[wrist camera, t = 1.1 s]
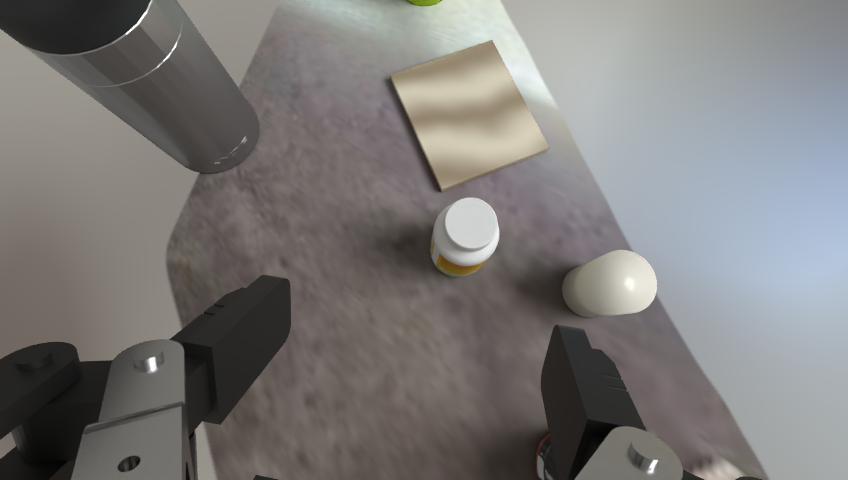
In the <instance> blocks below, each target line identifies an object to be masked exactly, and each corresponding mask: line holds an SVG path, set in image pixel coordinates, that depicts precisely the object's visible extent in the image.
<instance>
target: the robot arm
mask: <svg viewBox="0 0 848 480" xmlns="http://www.w3.org/2000/svg"><path fill="white" fill-rule="evenodd" d="M0 29H1V30H3V31H4V32H5V33H7V34H8V35H9V36H11V37H12V38H14V39H15V40H16V41H18V42H19V43H20V44H21V45H23V46H24V47H25V48H27V49H28V50H29V51H31V52H32V53H33V54H35V55H36V56H37V57H39V58H40V59H41V60H43V61H44V62H45V63H47V64H48V65H49V66H51V67H52V68H53V69H55V70H56V71H57V72H59V73H60V74H62V75H63V76H65V77H66V78H67V79H68V80H70V81H71V82H72V83H74V84H75V85H76V86H78V87H79V88H80V89H82V90H83V91H85V92H86V93H87V94H89V95H90V96H91V97H92V98H94V99H95V100H96V101H98V102H99V103H100V104H102V105H103V106H104V107H106V108H107V109H108V110H110V111H111V112H112V113H114V114H115V115H116V116H118V117H119V118H120V119H122V120H123V121H124V122H126V123H127V124H128V125H130V126H131V127H132V128H134V129H135V130H136V131H138V132H139V133H140V134H142V135H143V136H144V137H146V138H147V139H148V140H150V141H151V142H152V143H154V144H155V145H156V146H157V147H159V148H160V149H162V150H163V151H164V152H165V153H167V154H168V155H169V156H171V157H172V158H174V159H175V160H176V161H178V162H179V163H180V164H182V165H183V166H185V167H186V168H188V169H190V170H193V171H196V172H201V173H216V172H221V171H225V170H227V169H230V168H232V167H234V166H236V165H237V164H239V163H240V162H242V161H243V160H244V159H245V158H246V157H247V156H248V155H249V154H250V152H251V151H252V149H253V148H254V146H255V144H256V141H257V138H258V133H259V123H258V119H257V115H256V114H255V112H254V110H253V108H252V107H251V105H250V104H249V103H248V101H247V100H246V98H245V97H244V95H243V94H242V93H241V91H240V90H239V88H238V87H237V85H236V84H235V82H234V81H233V79H232V78H231V77H230V75H229V74H228V72H227V71H226V70H225V68H224V67H223V65H222V64H221V62H220V61H219V60H218V58H217V57H216V55H215V54H214V52H213V51H212V50H211V48H210V47H209V45H208V44H207V43H206V41H205V40H204V38H203V37H202V35H201V34H200V33H199V31H198V30H197V28H196V27H195V26H194V24H193V23H192V21H191V20H190V18H189V17H188V15H187V14H186V13H185V11H184V10H183V9H182V7H181V6H180V4H179V3H178V1H177V0H0ZM290 327H291V298H290V282H289V280H288V279H285V278H279V277H274V276H268V275H262V276H260V277H259V278H258V279H256V280H255V281H254V282H253V283H252V284H250V285H249V286H248V287H247V288H240V289H238V290H236V291H233V292H231V293H229V294H226V295H225V296H223V297H222V298H221V299H220V300H218V301H217V302H216V303H215V304H214V306H211V307H210V308H208V309H207V310H206V311H205V312H204V314H201V315H200V316H198V317H197V318H196V319H195V320H193V321H192V322H191V323H190V324H188V325H187V326H186V327H185V328H183V329H182V330H181V331H180V332H178V333H177V334H176V335H175V336H173V337H172V338H171V339H170V340H163V339H162V340H152V341H146V342H143V343H140V344H137V345H134V346H132V347H130V348H127V349H126V350H124V351H122V352H121V353H120V354H119V355H117V356H116V358H114V360H112V361H111V360H110V361H86V362H80V361H79V357H78V353H77V349H76V348H75V347H74V346H73V345H72V344H69V343H64V342H48V343H42V344H37V345H32V346H29V347H26V348H23V349H20V350H18V351H15V352H13V353H11V354H9V355H7V356H5V357H4V358H2V359H0V439H2V438H3V437H4V436H6V435H7V434H8V433H9V432H11V433H12V435H13V438H14V441H15V443H16V447H15V448H13V449H12V450H11V451H10V452H9V453H7V454H6V455H5V456H4V457H2V458H1V459H0V480H198V476H197V451H196V434H195V429H196V428H197V427H198V425H199V424H200V423H201V422H202V421H205V422H209V423H214V424H219V425H220V424H221V423H222V422H223V421H224V419H225V418H226V417H227V415H228V414H229V413H230V412H231V410H232V409H233V408H234V407H235V405H236V404H237V403H238V401H239V400H240V399H241V398H242V396H243V395H244V394H245V393H246V391H247V390H248V389H249V387H250V386H251V385H252V384H253V382H254V381H255V380H256V379H257V377H258V376H259V375H260V373H261V372H262V371H263V370H264V368H265V367H266V366H267V365H268V363H269V362H270V361H271V359H272V358H273V357H274V356H275V354H276V353H277V352H278V351H279V349H280V348H281V347H282V345H283V344H284V343H285V341H286V339H287V337H288V335H289V331H290ZM541 392H542V397H543V402H544V408H545V413H546V418H547V423H548V429H549V434H550V439H551V445H552V450H553V455H554V460H555V466H556V471H557V476H558V480H704V479H702V478H700V477H697V476H695V475H693V474H691V473H689V472H687V471H685V470H683V468H682V465H681V462H680V460H679V459H678V457H677V456H676V454H675V453H674V452H673V451H672V449H671V448H670V447H669V446H668V445H666V444H665V443H664V442H663V441H662V440H660V439H659V438H657V437H656V436H654V435H652V434H650V433H648V432H647V431H646V429H645V427H644V425H643V422H642V420H641V418H640V416H639V414H638V412H637V410H636V408H635V406H634V403H633V401H632V399H631V397H630V395H629V393H628V392H626V387H625V384H624V382H623V380H621V376H620V374H619V372H618V370H617V368H616V365H615V363H614V362H613V361H612V360H611V359H610V358H609V357H608V356H607V355H606V354H605V353H604V352H603V351H602V350H598V349H592V348H591V345H590V343H589V341H588V338H587V336H586V333H585V331H584V330H583V329H579V328H573V327H567V326H561V325H555V327H554V329H553V332H552V335H551V339H550V343H549V346H548V350H547V354H546V357H545V361H544V365H543V369H542V375H541ZM253 480H277V479H273V478H268V477H263V476H259V475H256V476H255V478H254V479H253ZM736 480H762V479H758V478H754V477H739V478H737V479H736Z"/></svg>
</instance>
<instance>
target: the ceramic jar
mask: <svg viewBox="0 0 848 480" xmlns="http://www.w3.org/2000/svg"><path fill="white" fill-rule="evenodd" d="M656 291H657V281H656V276H655V273H654V271H653V269H652V267H651V266H650V265H649V263H648V262H647V261H646V260H645V259H644V258H643V257H641V256H640V255H638V254H636V253H634V252H631V251H627V250H617V251H612V252H610V253H607V254H605V255H603V256H601V257H598V258H596V259H594V260H592V261H589V262H587V263H585V264H583V265H580V266H578V267H576V268H574V269H572V270H571V271H570V272H569V273H568V274H567V275H566V276H565V278H564V280H563V284H562V294H563V298H564V301H565V303H566V304H567V306H568V307H569V308H570V309H571V310H572V311H573V312H574V313H576V314H578V315H580V316H582V317H586V318H595V317H603V316H612V315H620V314H628V313H636V312H639V311H641V310H644V309H645V308H647V307H648V306H649V305H650V304H651V302H652V301H653V299H654V297H655V295H656Z"/></svg>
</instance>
